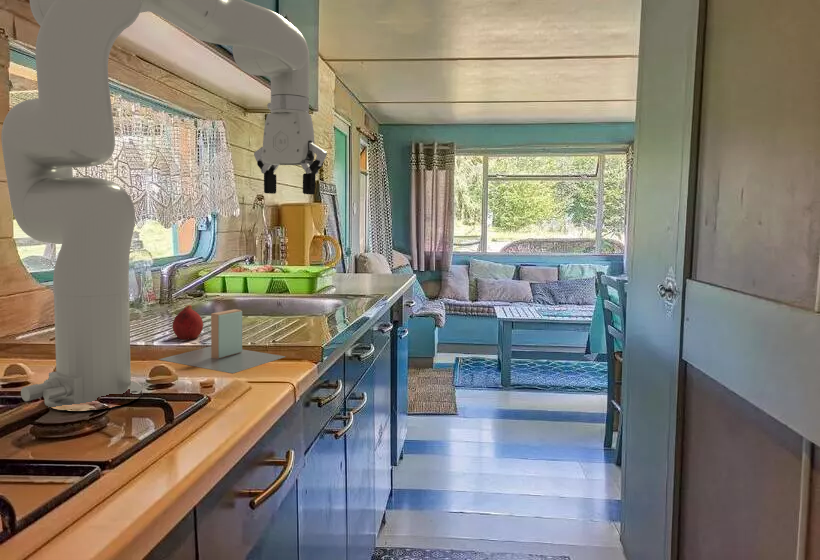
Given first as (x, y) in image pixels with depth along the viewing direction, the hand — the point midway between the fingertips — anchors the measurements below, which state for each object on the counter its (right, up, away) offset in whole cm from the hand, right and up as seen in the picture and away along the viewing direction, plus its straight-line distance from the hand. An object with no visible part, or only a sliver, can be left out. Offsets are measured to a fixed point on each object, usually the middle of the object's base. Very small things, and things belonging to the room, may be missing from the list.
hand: (289, 193), depth 127 cm
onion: (-21, -31, +1) cm, 37 cm away
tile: (-9, -31, -13) cm, 35 cm away
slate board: (-9, -33, -15) cm, 37 cm away
